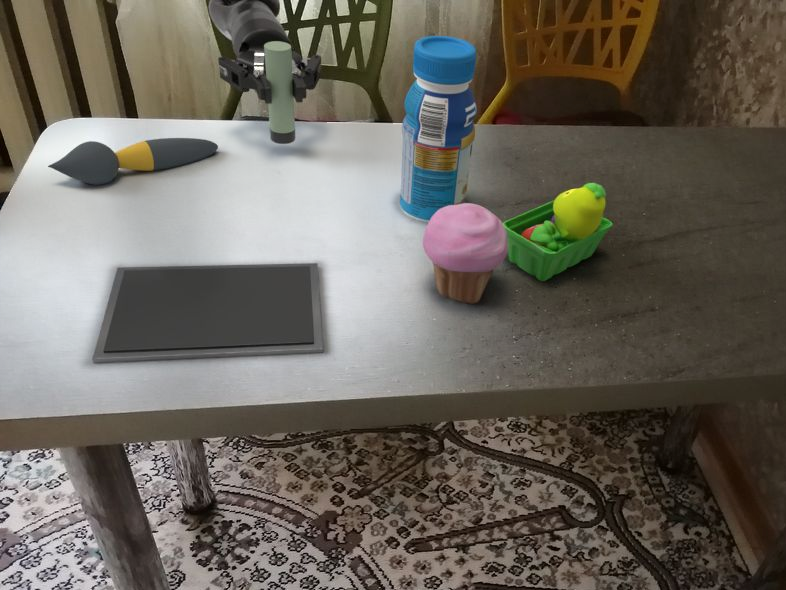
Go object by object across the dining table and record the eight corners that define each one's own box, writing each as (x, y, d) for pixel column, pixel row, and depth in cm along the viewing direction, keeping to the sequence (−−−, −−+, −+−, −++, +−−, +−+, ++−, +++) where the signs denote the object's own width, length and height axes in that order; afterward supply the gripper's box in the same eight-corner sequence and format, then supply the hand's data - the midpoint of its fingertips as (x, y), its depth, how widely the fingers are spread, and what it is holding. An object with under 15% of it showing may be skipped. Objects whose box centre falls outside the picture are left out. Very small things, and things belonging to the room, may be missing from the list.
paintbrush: (204, 144, 99) (199, 107, 96) (223, 158, 97) (219, 122, 94) (50, 184, 88) (38, 145, 85) (68, 202, 86) (56, 162, 82)
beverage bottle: (384, 202, 93) (390, 37, 80) (438, 186, 97) (452, 27, 84) (424, 234, 88) (438, 65, 75) (479, 216, 92) (500, 53, 79)
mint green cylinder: (276, 145, 96) (270, 51, 88) (266, 135, 98) (260, 42, 90) (299, 142, 98) (295, 49, 90) (289, 131, 100) (285, 40, 92)
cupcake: (493, 323, 77) (506, 241, 70) (411, 308, 77) (416, 225, 71) (504, 275, 83) (517, 196, 77) (429, 261, 84) (435, 182, 77)
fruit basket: (556, 230, 92) (575, 145, 84) (613, 264, 87) (638, 177, 80) (493, 261, 85) (506, 172, 78) (551, 299, 81) (571, 208, 73)
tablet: (94, 367, 66) (91, 357, 65) (119, 275, 76) (116, 265, 76) (323, 356, 70) (323, 347, 69) (317, 270, 80) (317, 261, 80)
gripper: (205, 17, 98) (221, 66, 87) (311, 17, 103) (340, 63, 91) (211, 73, 103) (228, 127, 91) (313, 71, 108) (341, 121, 96)
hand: (284, 95), depth 91 cm, fingers closed on mint green cylinder, 3 cm apart
